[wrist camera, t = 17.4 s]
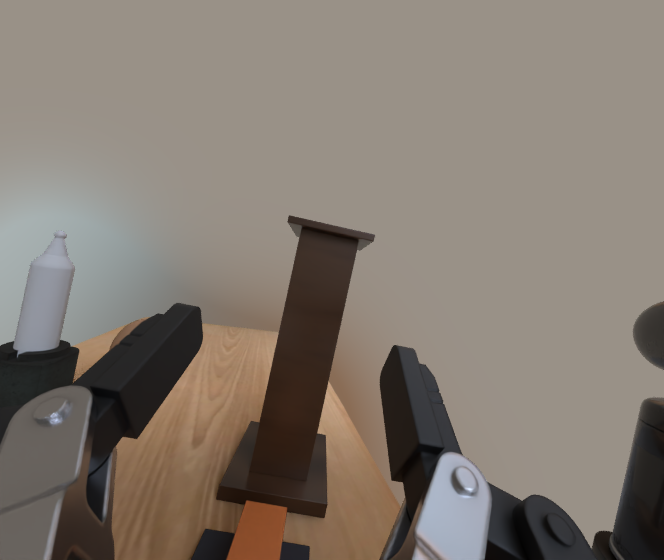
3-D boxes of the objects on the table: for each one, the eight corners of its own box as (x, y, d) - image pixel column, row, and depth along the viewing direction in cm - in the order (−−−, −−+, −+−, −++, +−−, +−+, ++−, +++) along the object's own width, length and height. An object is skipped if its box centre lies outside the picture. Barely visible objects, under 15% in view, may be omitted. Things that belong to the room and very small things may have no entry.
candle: (61, 460, 27) (108, 239, 27) (15, 502, 23) (71, 234, 22) (3, 458, 26) (52, 228, 26) (-60, 503, 21) (0, 219, 21)
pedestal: (248, 430, 39) (291, 231, 39) (323, 444, 39) (366, 247, 39) (216, 499, 27) (278, 210, 27) (324, 518, 27) (386, 235, 27)
